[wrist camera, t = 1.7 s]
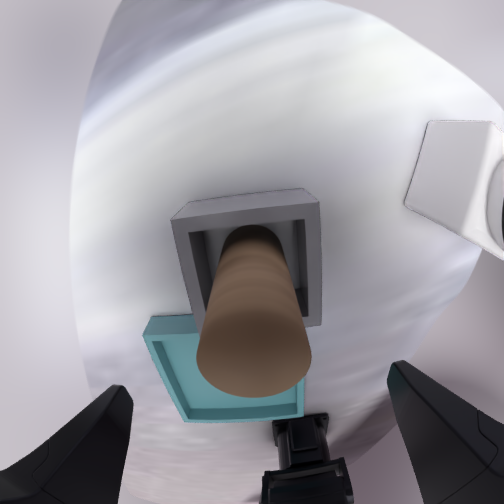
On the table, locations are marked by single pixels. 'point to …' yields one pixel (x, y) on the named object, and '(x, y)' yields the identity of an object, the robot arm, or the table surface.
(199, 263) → the grey square open box
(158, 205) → the table surface
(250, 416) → the tray
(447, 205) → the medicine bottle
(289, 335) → the walnut dowel
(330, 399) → the table surface
